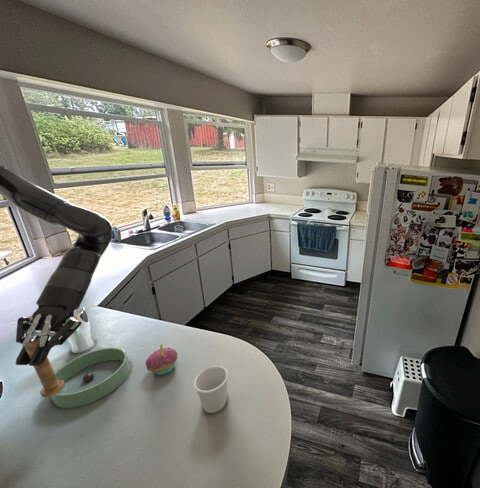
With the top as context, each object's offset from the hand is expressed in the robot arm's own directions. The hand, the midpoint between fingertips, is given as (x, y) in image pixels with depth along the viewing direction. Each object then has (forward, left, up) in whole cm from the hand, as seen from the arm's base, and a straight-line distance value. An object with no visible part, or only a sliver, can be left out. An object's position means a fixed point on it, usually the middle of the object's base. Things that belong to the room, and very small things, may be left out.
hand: (28, 364), depth 55 cm
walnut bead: (+3, +14, -19) cm, 24 cm away
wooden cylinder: (+1, +2, -10) cm, 10 cm away
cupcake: (+22, +10, -21) cm, 32 cm away
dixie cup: (+35, -10, -21) cm, 42 cm away
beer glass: (-3, +33, -21) cm, 39 cm away
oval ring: (+4, +14, -21) cm, 25 cm away
